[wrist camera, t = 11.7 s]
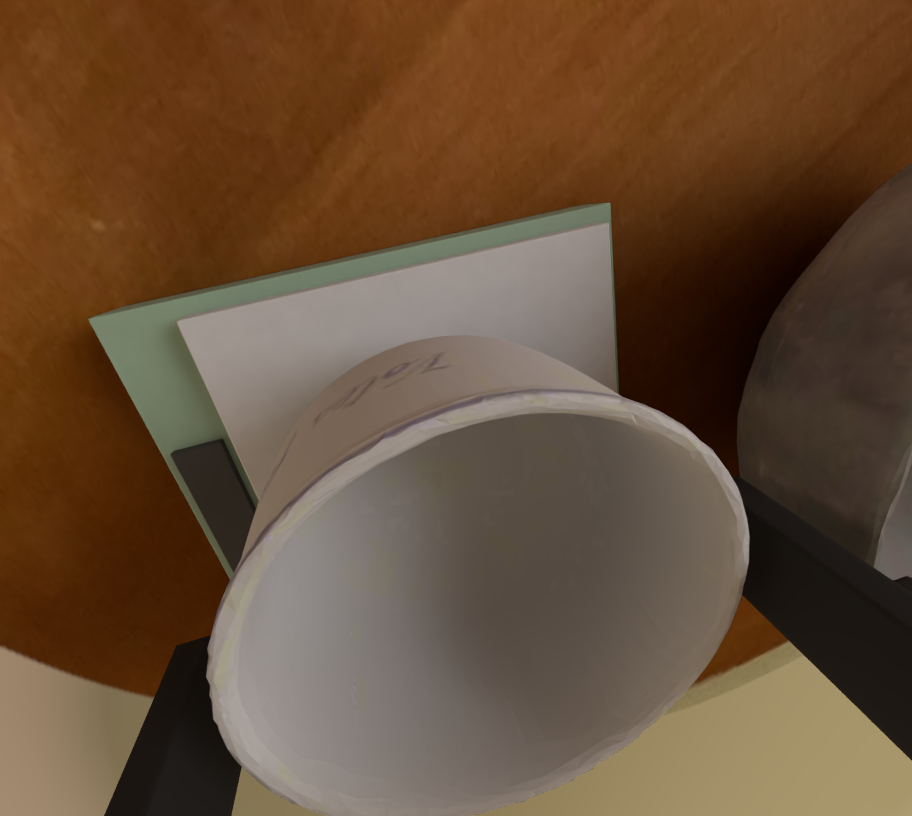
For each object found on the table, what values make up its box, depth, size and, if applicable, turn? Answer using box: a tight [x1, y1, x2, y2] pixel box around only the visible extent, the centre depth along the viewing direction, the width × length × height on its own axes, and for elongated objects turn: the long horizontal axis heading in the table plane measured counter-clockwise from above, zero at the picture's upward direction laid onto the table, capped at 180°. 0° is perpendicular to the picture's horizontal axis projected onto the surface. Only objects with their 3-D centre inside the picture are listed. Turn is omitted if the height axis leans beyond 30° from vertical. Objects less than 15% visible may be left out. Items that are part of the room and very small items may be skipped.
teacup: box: [206, 335, 750, 816], centre depth 12 cm, size 14×11×8 cm
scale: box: [88, 202, 619, 580], centre depth 17 cm, size 16×17×3 cm
